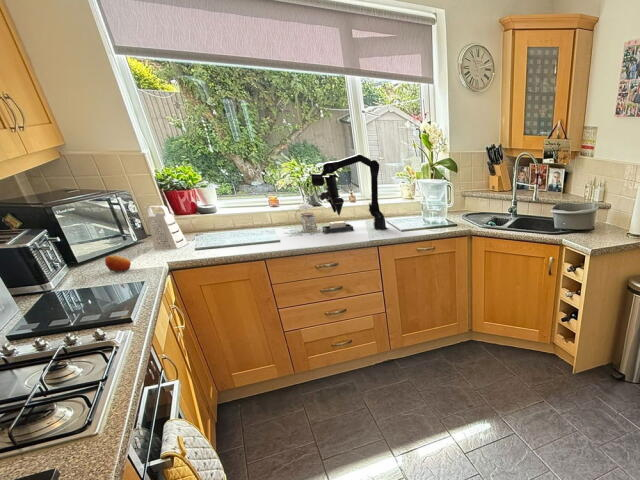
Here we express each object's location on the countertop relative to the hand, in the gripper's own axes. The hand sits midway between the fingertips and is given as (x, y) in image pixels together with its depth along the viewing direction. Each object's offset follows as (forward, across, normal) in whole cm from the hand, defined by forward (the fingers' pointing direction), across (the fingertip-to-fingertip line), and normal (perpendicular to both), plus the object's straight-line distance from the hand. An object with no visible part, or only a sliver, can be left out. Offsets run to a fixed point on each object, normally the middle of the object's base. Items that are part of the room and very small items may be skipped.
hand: (336, 213), depth 248 cm
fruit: (+10, +33, -101) cm, 106 cm away
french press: (+10, -10, -16) cm, 21 cm away
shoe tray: (+10, -1, -1) cm, 10 cm away
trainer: (+10, 0, -1) cm, 10 cm away
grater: (+10, -5, -84) cm, 85 cm away
